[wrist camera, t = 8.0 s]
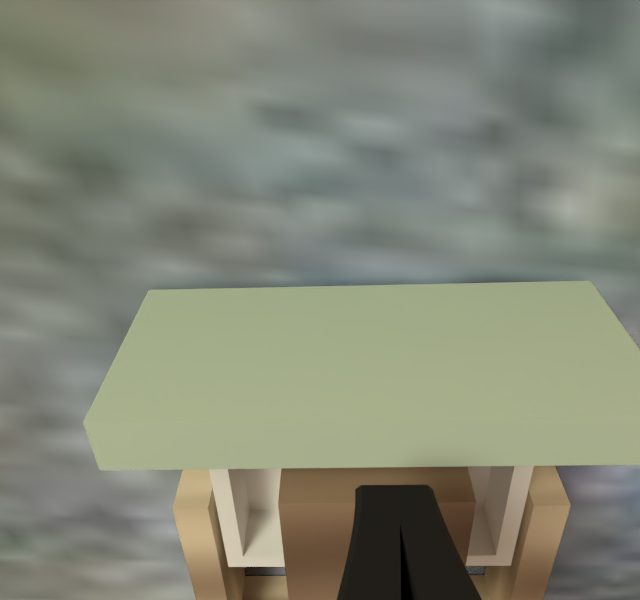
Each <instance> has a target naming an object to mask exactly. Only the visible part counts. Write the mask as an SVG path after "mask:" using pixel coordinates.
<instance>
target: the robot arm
mask: <svg viewBox="0 0 640 600" xmlns="http://www.w3.org/2000/svg"><path fill="white" fill-rule="evenodd" d="M337 600H482V599H481V597H480V595H479V593H478V591H477V589H476V587H475V585H474V583H473V581H472V579H471V578H470V576H469V574H468V572H467V570H466V568H465V566H464V564H463V561H462V559H461V557H460V555H459V553H458V551H457V549H456V546H455V544H454V542H453V540H452V538H451V536H450V533H449V531H448V528H447V526H446V524H445V521H444V519H443V516H442V514H441V511H440V509H439V506H438V503H437V500H436V498H435V495H434V491H433V489H432V488H431V487H430V486H428V485H361V486H359V487H358V488H356V489H355V512H354V521H353V528H352V535H351V540H350V545H349V550H348V556H347V560H346V564H345V568H344V572H343V576H342V580H341V584H340V588H339V592H338V596H337Z"/></svg>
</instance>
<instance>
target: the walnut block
mask: <svg viewBox="0 0 640 600" xmlns="http://www.w3.org/2000/svg"><path fill="white" fill-rule="evenodd" d="M361 485H428V486H430V487H431V488H432V489H433V491H434V495H435V498H436V500H437V503H438V506H439V509H440V511H441V514H442V516H443V519H444V521H445V524H446V526H447V528H448V531H449V533H450V536H451V538H452V540H453V542H454V544H455V546H456V549H457V551H458V553H459V555H460V557H461V559H462V561H463V564H464V566H465V567H466V561H467V555H468V549H469V543H470V537H471V531H472V525H473V519H474V513H475V507H476V499H475V495H474V491H473V487H472V483H471V479H470V475H469V471H468V467H467V466H465V467H370V468H281V477H280V488H279V499H278V508H279V517H280V526H281V535H282V544H283V553H284V562H285V572H286V581H287V590H288V599H289V600H337V596H338V592H339V588H340V584H341V580H342V576H343V572H344V568H345V564H346V560H347V556H348V550H349V545H350V540H351V535H352V528H353V521H354V512H355V489H356V488H358V487H359V486H361Z"/></svg>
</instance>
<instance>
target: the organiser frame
mask: <svg viewBox="0 0 640 600" xmlns="http://www.w3.org/2000/svg"><path fill="white" fill-rule="evenodd" d="M570 507H571V504H570V502H569V499H568V497H567V494H566V492H565V489H564V487H563V485H562V482H561V480H560V477H559V475H558V472H557V470H556V467H555V466H534V468H533V472H532V476H531V481H530V485H529V489H528V494H527V498H526V502H525V507H524V511H523V515H522V520H521V524H520V528H519V533H518V537H517V541H516V545H515V550H514V554H513V558H512V563H511V566H486V569H485V574H484V575H469V576H470V578H471V579H472V581H473V583H474V585H475V587H476V589H477V591H478V593H479V595H480V597H481V599H482V600H543V598H544V595H545V591H546V588H547V584H548V581H549V578H550V574H551V571H552V568H553V564H554V561H555V557H556V554H557V551H558V547H559V544H560V541H561V537H562V534H563V530H564V527H565V524H566V520H567V517H568V514H569V510H570ZM172 509H173V513H174V517H175V521H176V524H177V528H178V532H179V536H180V540H181V544H182V547H183V551H184V555H185V559H186V563H187V566H188V570H189V574H190V578H191V582H192V586H193V589H194V593H195V597H196V600H289V599H288V590H287V581H286V576H245V570H244V567H228V562H227V557H226V552H225V547H224V542H223V537H222V532H221V527H220V522H219V517H218V512H217V507H216V502H215V497H214V492H213V487H212V482H211V477H210V472H209V469H183V471H182V475H181V479H180V482H179V486H178V490H177V493H176V497H175V501H174V504H173V508H172Z"/></svg>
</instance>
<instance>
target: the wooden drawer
mask: <svg viewBox="0 0 640 600" xmlns="http://www.w3.org/2000/svg"><path fill="white" fill-rule="evenodd" d="M83 424H84V427H85V430H86V432H87V435H88V438H89V441H90V444H91V447H92V450H93V453H94V456H95V459H96V461H97V464H98V467H99V470H178V469H209V472H210V477H211V482H212V487H213V492H214V497H215V502H216V507H217V512H218V517H219V522H220V527H221V532H222V537H223V542H224V547H225V552H226V557H227V562H228V567H285V562H284V553H283V544H282V535H281V526H280V517H279V508H278V499H279V488H280V477H281V468H370V467H465V466H467V467H468V471H469V475H470V479H471V483H472V487H473V491H474V495H475V499H476V507H475V513H474V519H473V525H472V531H471V537H470V543H469V549H468V555H467V561H466V566H511V563H512V558H513V554H514V550H515V545H516V541H517V537H518V533H519V528H520V524H521V520H522V515H523V511H524V507H525V502H526V498H527V494H528V489H529V485H530V481H531V476H532V472H533V468H534V466H561V465H640V350H639V348H638V347H637V346H636V344H635V343H634V341H633V340H632V339H631V337H630V336H629V334H628V333H627V332H626V330H625V329H624V327H623V326H622V325H621V323H620V322H619V320H618V319H617V317H616V316H615V315H614V313H613V312H612V310H611V309H610V308H609V306H608V305H607V303H606V302H605V301H604V299H603V298H602V296H601V295H600V294H599V292H598V291H597V289H596V288H595V287H594V285H593V284H592V282H591V281H554V282H507V283H459V284H411V285H364V286H316V287H268V288H220V289H173V290H149V291H148V293H147V295H146V297H145V299H144V301H143V303H142V305H141V307H140V309H139V311H138V313H137V315H136V317H135V319H134V321H133V323H132V325H131V327H130V329H129V331H128V333H127V335H126V337H125V339H124V341H123V343H122V345H121V347H120V349H119V351H118V353H117V355H116V357H115V359H114V361H113V363H112V365H111V367H110V369H109V371H108V373H107V376H106V378H105V380H104V382H103V384H102V386H101V388H100V390H99V392H98V394H97V396H96V398H95V400H94V402H93V404H92V406H91V408H90V410H89V412H88V414H87V416H86V418H85V420H84V422H83Z"/></svg>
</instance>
